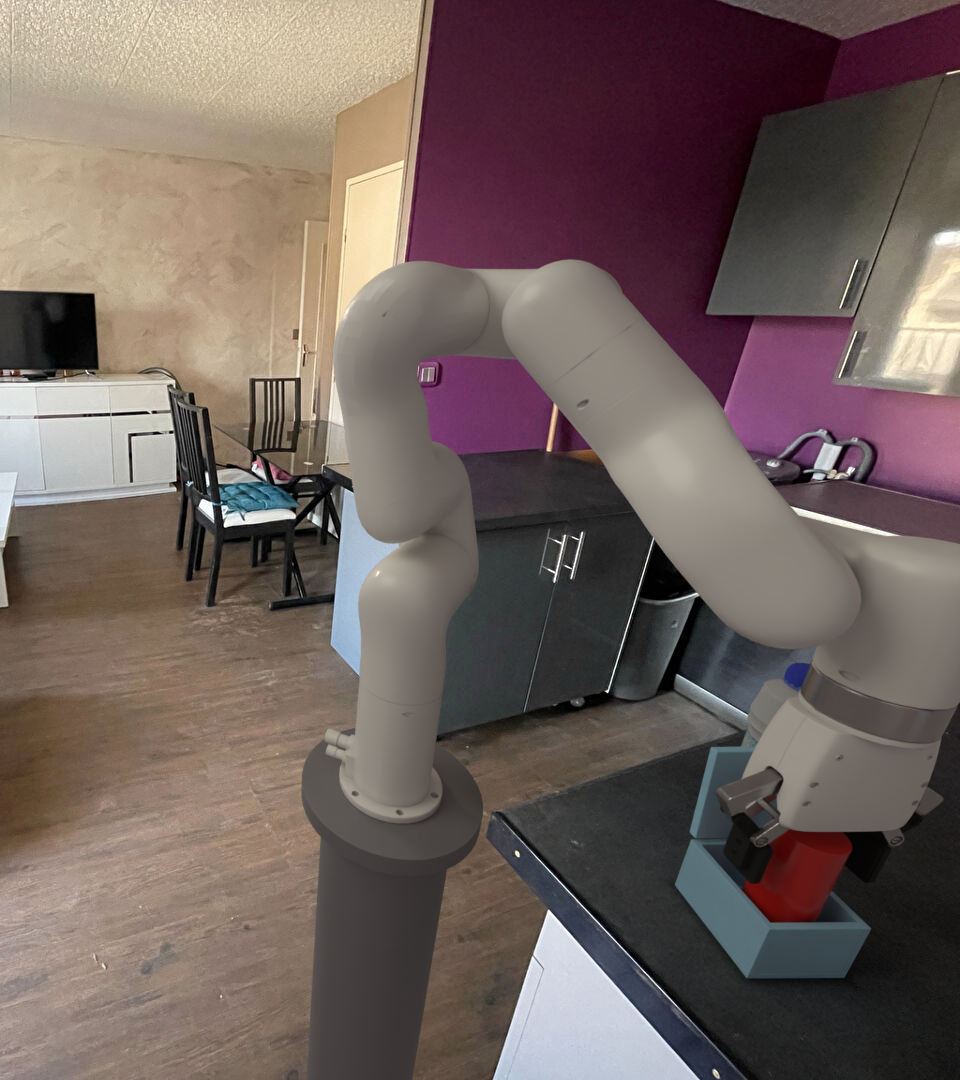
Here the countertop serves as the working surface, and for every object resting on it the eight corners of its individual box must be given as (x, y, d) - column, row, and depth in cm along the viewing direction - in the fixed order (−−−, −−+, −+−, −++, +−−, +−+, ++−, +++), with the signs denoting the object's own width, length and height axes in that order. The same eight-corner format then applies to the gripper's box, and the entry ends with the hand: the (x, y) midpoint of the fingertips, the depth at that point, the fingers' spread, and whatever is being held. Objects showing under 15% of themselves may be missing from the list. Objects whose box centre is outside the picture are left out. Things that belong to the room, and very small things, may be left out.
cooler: (844, 978, 49) (871, 928, 47) (746, 978, 49) (769, 929, 47) (758, 884, 58) (778, 838, 56) (674, 885, 58) (690, 839, 56)
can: (734, 942, 52) (780, 838, 47) (727, 900, 56) (768, 799, 51) (806, 972, 49) (861, 865, 45) (793, 925, 53) (842, 822, 49)
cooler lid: (810, 751, 52) (801, 745, 53) (717, 751, 52) (710, 746, 53) (783, 838, 55) (775, 831, 56) (695, 838, 55) (688, 832, 56)
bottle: (728, 834, 63) (789, 679, 56) (704, 790, 69) (756, 645, 62) (804, 851, 61) (877, 692, 54) (773, 804, 67) (835, 655, 60)
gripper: (931, 670, 47) (853, 831, 53) (717, 672, 47) (663, 832, 53) (1052, 732, 40) (946, 909, 46) (801, 734, 40) (728, 911, 46)
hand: (795, 868), depth 49 cm, fingers open, 9 cm apart
